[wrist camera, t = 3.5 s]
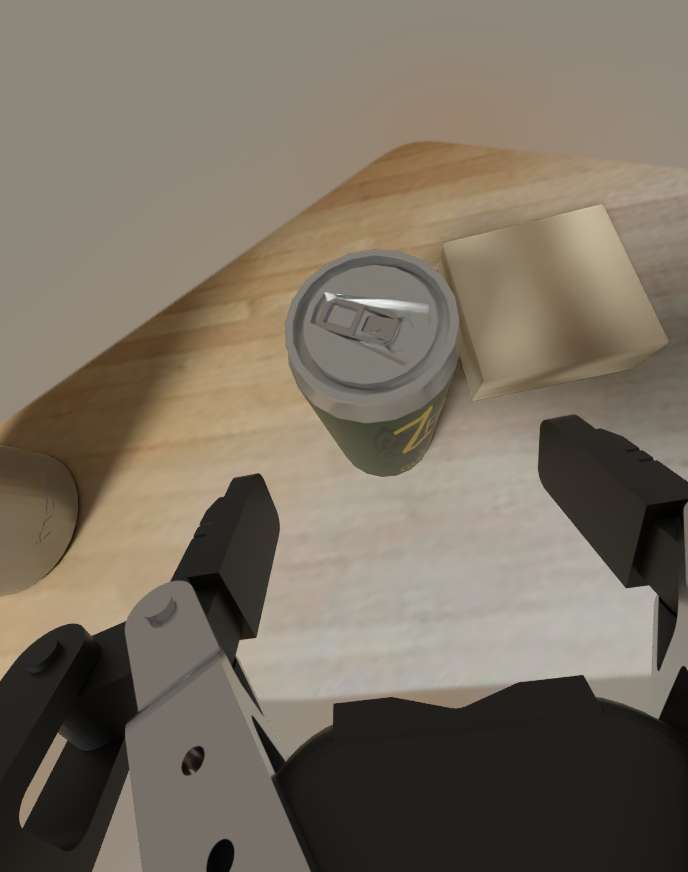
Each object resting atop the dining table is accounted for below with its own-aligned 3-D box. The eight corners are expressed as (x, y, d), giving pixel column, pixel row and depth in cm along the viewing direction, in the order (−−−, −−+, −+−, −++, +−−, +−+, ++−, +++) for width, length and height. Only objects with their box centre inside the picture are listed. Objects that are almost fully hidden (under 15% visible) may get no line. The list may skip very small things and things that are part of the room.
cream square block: (472, 401, 21) (483, 380, 18) (437, 278, 24) (442, 243, 21) (631, 369, 20) (669, 342, 17) (576, 245, 23) (602, 203, 20)
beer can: (327, 459, 21) (246, 376, 10) (360, 382, 22) (321, 226, 11) (411, 492, 20) (428, 440, 9) (442, 409, 21) (494, 265, 10)
